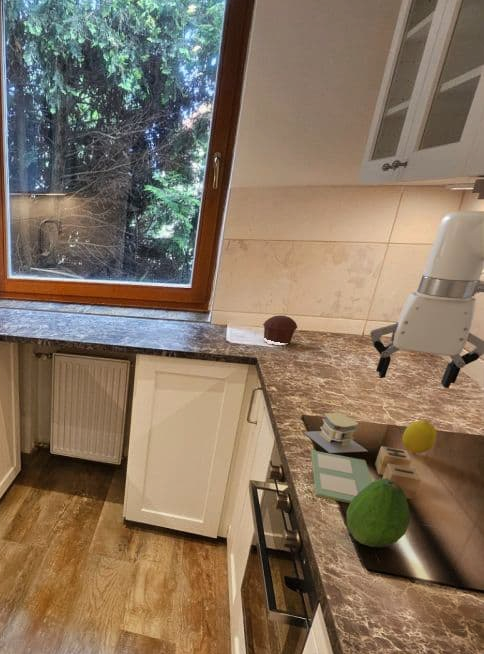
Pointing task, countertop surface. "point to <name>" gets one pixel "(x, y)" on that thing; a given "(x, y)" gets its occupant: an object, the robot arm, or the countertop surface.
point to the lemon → (419, 437)
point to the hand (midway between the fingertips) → (412, 380)
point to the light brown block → (391, 458)
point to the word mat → (339, 476)
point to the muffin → (279, 329)
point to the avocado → (378, 514)
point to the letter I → (403, 478)
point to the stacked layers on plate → (336, 434)
